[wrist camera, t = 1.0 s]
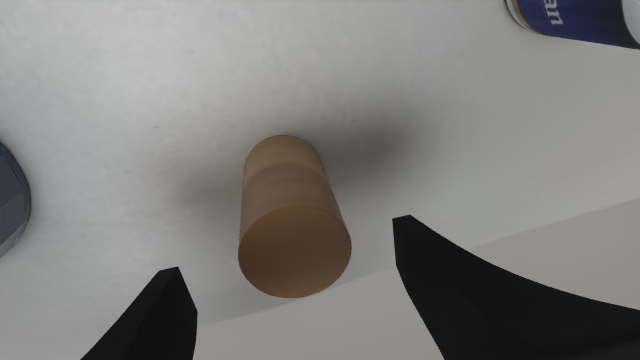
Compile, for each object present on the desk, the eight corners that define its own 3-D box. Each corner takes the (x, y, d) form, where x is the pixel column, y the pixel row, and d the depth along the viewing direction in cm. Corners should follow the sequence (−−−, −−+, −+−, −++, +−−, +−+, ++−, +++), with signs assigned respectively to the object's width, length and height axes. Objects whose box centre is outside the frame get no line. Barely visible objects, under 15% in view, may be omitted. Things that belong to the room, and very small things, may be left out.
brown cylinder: (327, 196, 20) (358, 285, 14) (254, 212, 20) (253, 309, 14) (315, 127, 19) (344, 194, 12) (235, 144, 18) (223, 220, 12)
